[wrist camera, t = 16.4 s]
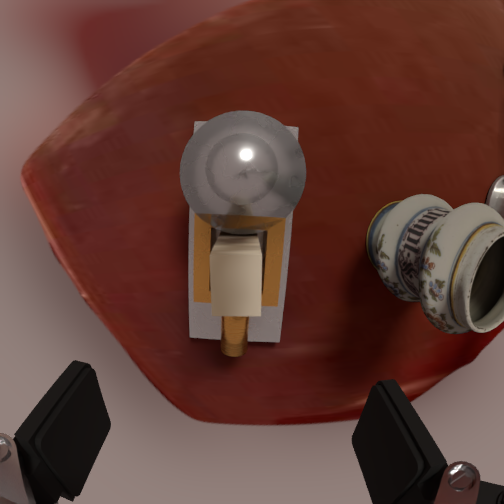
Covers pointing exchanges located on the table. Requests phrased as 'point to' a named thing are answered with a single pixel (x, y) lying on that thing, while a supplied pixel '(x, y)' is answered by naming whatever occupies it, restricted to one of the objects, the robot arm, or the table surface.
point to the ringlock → (241, 215)
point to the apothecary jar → (442, 260)
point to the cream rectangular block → (236, 275)
